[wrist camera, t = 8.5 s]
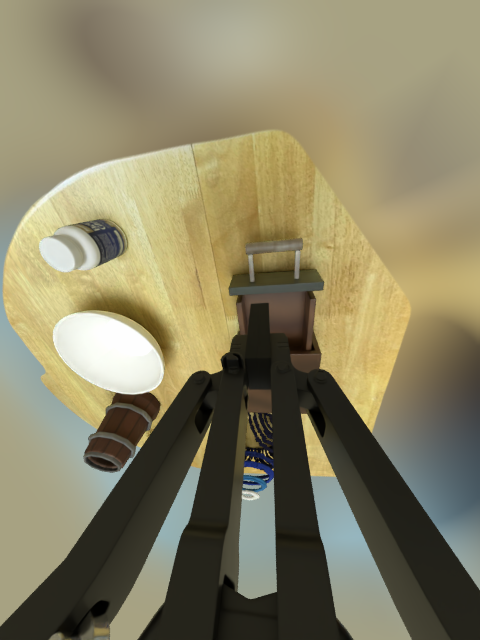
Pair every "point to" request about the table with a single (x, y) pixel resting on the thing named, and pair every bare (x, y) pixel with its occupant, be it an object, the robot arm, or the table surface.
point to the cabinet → (301, 362)
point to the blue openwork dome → (259, 457)
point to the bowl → (110, 351)
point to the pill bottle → (83, 245)
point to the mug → (121, 431)
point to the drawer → (279, 294)
